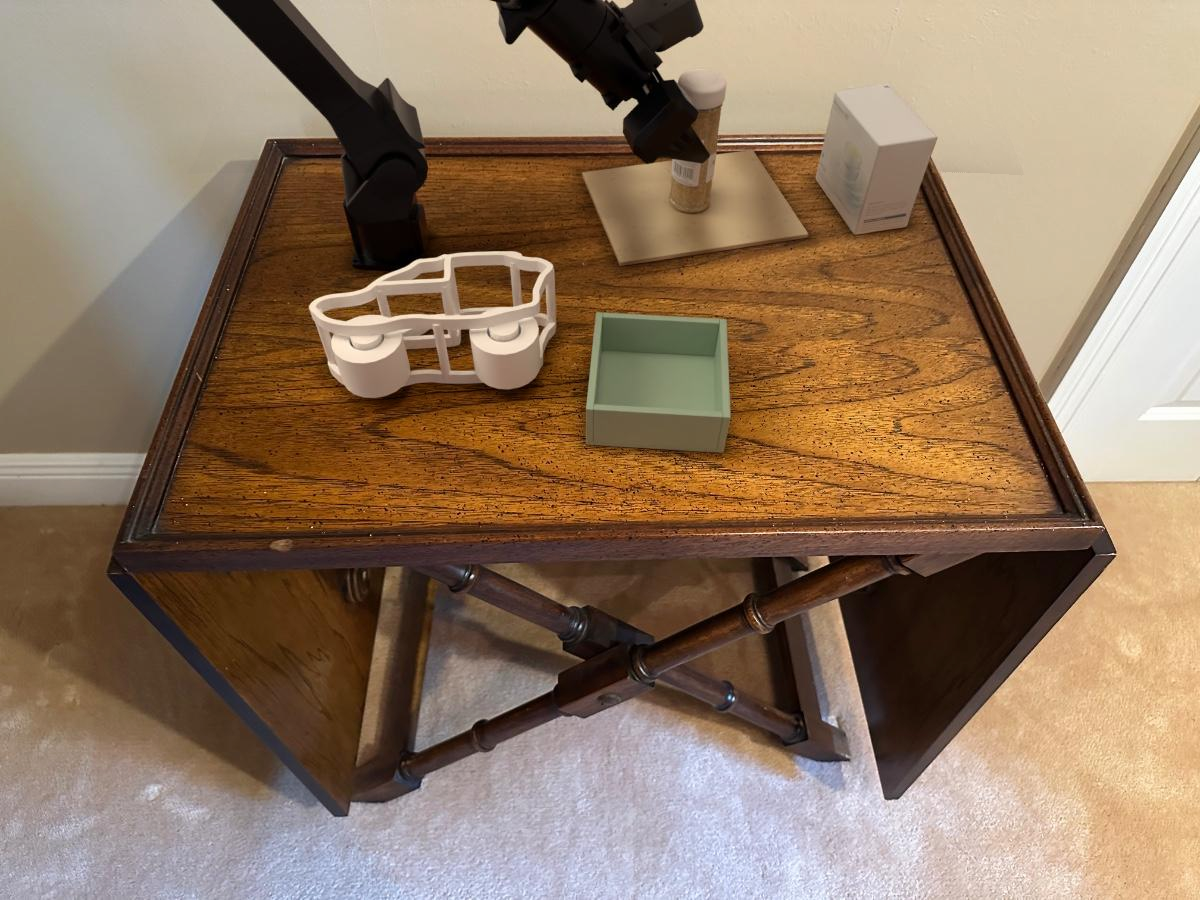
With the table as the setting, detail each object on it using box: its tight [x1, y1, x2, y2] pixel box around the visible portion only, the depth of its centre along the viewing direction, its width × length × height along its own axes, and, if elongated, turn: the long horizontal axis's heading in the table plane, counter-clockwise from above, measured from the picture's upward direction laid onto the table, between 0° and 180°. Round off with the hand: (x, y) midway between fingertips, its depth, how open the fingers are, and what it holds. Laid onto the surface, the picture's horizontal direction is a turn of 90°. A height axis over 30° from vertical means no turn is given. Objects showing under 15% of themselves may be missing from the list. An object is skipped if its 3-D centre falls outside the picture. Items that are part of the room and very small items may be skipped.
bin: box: [585, 311, 732, 454], centre depth 69 cm, size 11×11×4 cm
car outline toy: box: [308, 250, 557, 399], centre depth 70 cm, size 20×11×7 cm, turn 96°
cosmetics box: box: [814, 82, 938, 236], centre depth 85 cm, size 10×6×10 cm, turn 14°
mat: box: [581, 149, 809, 267], centre depth 88 cm, size 20×16×1 cm
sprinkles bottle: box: [669, 68, 727, 213], centre depth 83 cm, size 5×5×13 cm
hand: (690, 133), depth 81 cm, fingers open, 9 cm apart
